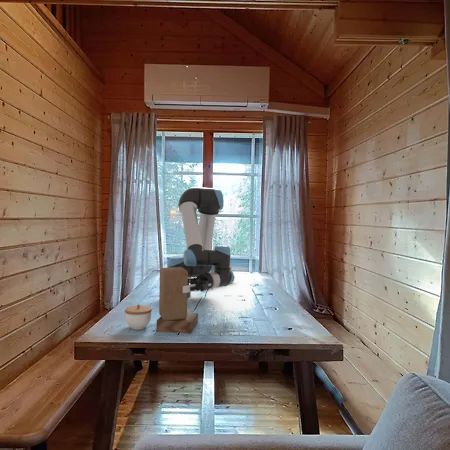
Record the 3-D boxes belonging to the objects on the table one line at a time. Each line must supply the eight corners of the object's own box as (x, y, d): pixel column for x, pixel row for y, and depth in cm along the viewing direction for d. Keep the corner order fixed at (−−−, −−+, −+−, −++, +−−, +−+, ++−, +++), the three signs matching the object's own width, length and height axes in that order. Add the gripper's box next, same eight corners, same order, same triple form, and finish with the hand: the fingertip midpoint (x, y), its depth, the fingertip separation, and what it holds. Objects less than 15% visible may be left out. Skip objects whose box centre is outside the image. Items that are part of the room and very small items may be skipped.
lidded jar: (135, 321, 148) (135, 300, 148) (156, 325, 144) (157, 303, 144) (118, 329, 138) (119, 306, 138) (140, 333, 134) (141, 309, 134)
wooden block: (187, 319, 138) (188, 270, 138) (162, 321, 135) (163, 271, 134) (182, 313, 147) (182, 266, 147) (158, 314, 144) (159, 267, 144)
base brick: (156, 332, 137) (156, 320, 137) (166, 322, 151) (166, 310, 150) (190, 334, 135) (191, 322, 135) (197, 324, 149) (198, 312, 149)
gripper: (228, 293, 148) (192, 301, 132) (188, 285, 165) (152, 291, 148) (228, 276, 148) (193, 282, 132) (189, 269, 164) (153, 274, 148)
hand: (171, 287), depth 140 cm, fingers open, 13 cm apart
